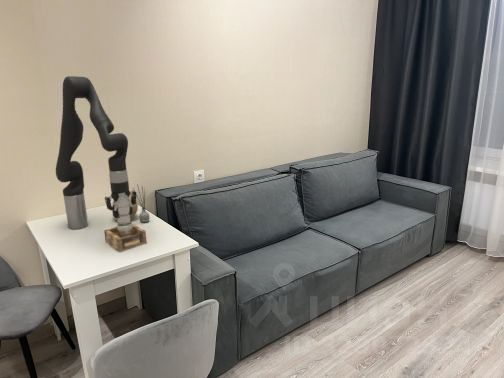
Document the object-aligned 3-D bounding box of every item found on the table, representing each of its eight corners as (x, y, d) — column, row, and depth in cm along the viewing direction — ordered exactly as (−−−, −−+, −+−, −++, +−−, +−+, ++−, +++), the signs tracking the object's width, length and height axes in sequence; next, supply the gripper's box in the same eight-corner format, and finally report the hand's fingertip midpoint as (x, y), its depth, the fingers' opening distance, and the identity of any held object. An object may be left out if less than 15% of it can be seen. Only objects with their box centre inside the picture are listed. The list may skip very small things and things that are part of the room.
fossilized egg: (108, 222, 195) (105, 195, 191) (122, 214, 207) (119, 188, 203) (131, 224, 192) (128, 196, 188) (143, 215, 204) (140, 189, 200)
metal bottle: (119, 231, 173) (114, 189, 167) (134, 230, 173) (130, 189, 167) (116, 237, 167) (110, 194, 161) (131, 236, 167) (126, 193, 161)
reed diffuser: (153, 223, 194) (150, 186, 188) (140, 226, 190) (137, 188, 184) (144, 217, 201) (140, 181, 196) (132, 221, 197) (128, 184, 191)
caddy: (105, 242, 172) (104, 230, 170) (132, 234, 180) (130, 222, 178) (119, 252, 162) (118, 239, 160) (146, 243, 171) (145, 230, 169)
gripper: (130, 175, 170) (134, 210, 175) (99, 181, 160) (103, 218, 165) (138, 178, 165) (142, 214, 170) (106, 184, 155) (111, 222, 160)
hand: (123, 216), depth 167 cm, fingers closed on metal bottle, 6 cm apart
